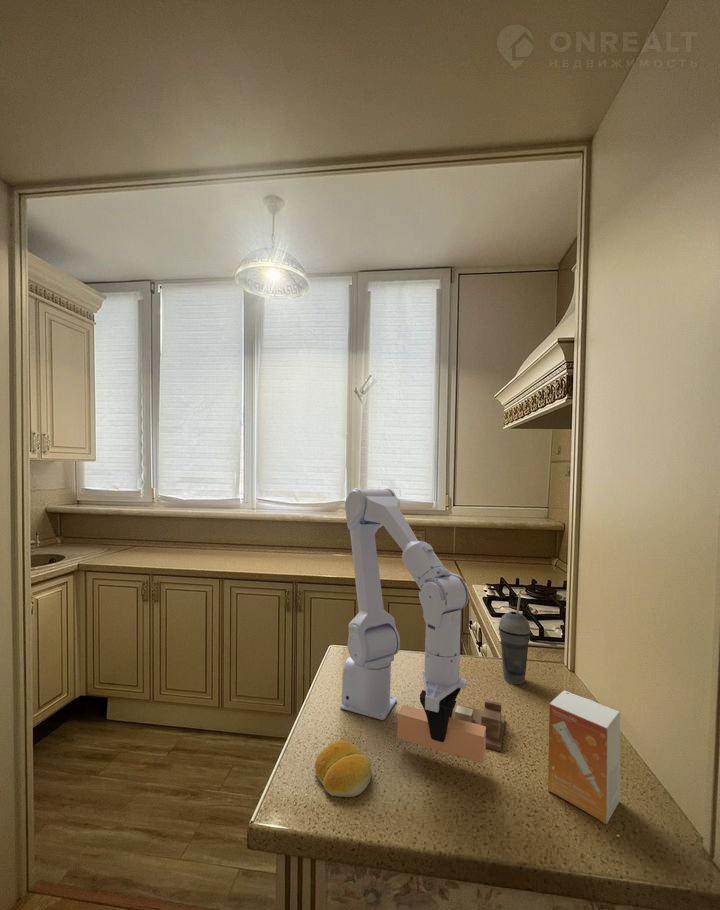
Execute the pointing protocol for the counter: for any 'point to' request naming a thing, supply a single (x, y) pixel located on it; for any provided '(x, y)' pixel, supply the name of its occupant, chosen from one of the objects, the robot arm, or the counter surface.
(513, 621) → the beverage cup
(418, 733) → the bar
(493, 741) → the stand
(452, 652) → the robot arm
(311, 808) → the counter surface
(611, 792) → the small box
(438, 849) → the counter surface
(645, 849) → the counter surface
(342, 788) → the bread roll
